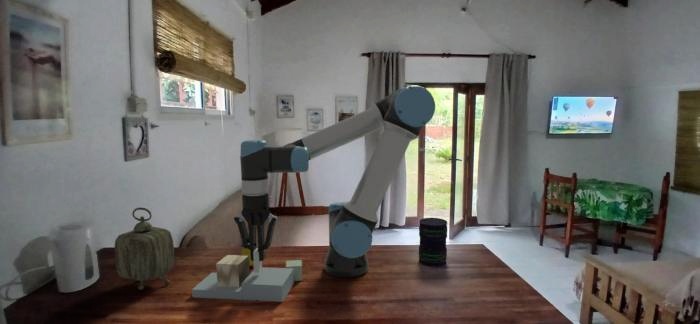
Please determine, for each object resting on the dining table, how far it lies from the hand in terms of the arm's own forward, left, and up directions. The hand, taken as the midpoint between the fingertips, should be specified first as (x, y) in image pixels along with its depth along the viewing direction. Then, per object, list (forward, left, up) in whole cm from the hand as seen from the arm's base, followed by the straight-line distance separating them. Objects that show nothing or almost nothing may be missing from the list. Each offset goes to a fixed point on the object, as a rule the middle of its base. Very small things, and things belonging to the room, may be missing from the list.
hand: (258, 270), depth 111 cm
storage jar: (-54, -28, -7) cm, 61 cm away
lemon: (+10, -18, -7) cm, 22 cm away
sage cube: (-8, -10, -6) cm, 14 cm away
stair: (+4, 0, -6) cm, 8 cm away
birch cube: (+4, 0, 0) cm, 4 cm away
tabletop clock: (+36, +1, -7) cm, 36 cm away
